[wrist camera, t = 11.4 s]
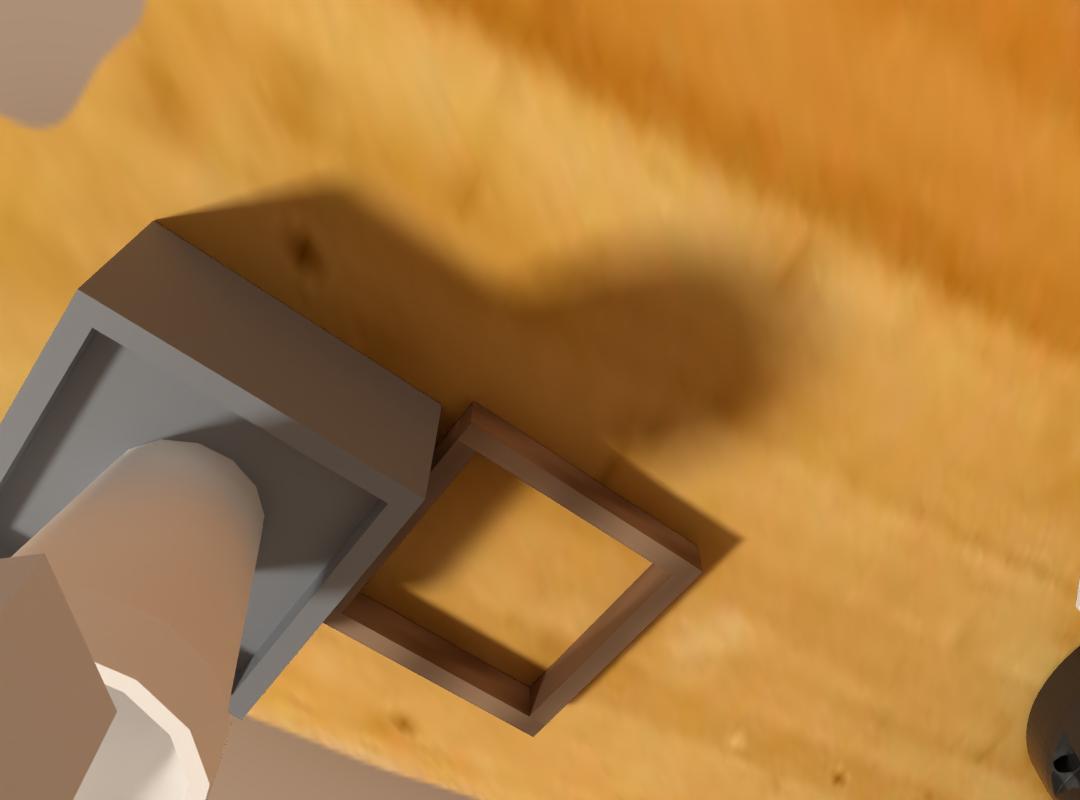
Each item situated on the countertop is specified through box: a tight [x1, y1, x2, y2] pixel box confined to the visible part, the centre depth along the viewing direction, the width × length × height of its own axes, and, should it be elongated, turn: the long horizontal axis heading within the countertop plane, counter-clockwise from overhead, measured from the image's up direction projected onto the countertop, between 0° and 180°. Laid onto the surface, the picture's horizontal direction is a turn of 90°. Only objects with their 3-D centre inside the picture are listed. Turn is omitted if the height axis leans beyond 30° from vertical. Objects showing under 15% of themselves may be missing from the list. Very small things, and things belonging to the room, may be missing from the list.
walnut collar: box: [323, 401, 703, 737], centre depth 47 cm, size 13×13×2 cm
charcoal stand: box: [0, 221, 442, 720], centre depth 41 cm, size 14×14×8 cm
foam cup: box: [12, 439, 265, 800], centre depth 34 cm, size 10×9×13 cm
